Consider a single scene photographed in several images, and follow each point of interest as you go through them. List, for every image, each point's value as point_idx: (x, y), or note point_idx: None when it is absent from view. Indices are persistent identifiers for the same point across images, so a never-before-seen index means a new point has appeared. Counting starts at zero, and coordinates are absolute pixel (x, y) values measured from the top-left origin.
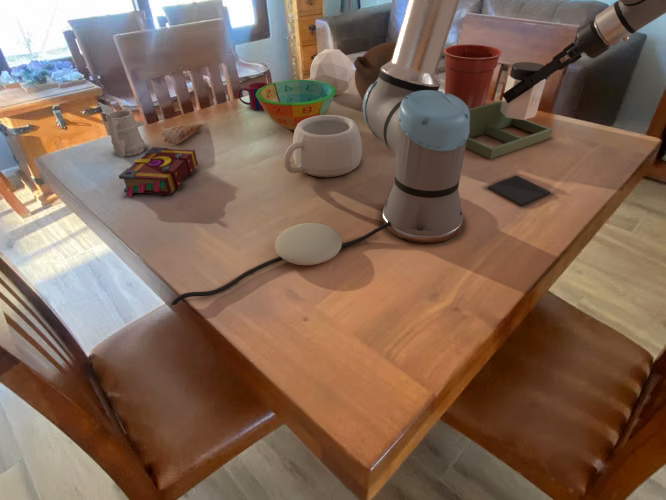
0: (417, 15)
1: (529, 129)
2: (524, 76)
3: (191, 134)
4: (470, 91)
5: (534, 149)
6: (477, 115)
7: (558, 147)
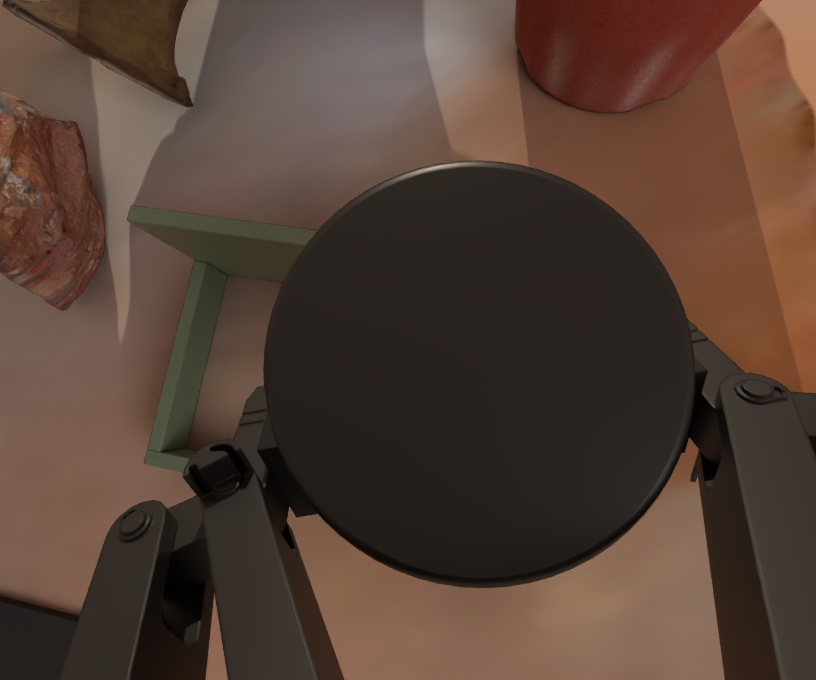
0: None
1: None
2: (192, 465)
3: None
4: (561, 9)
5: None
6: (275, 254)
7: (479, 617)
